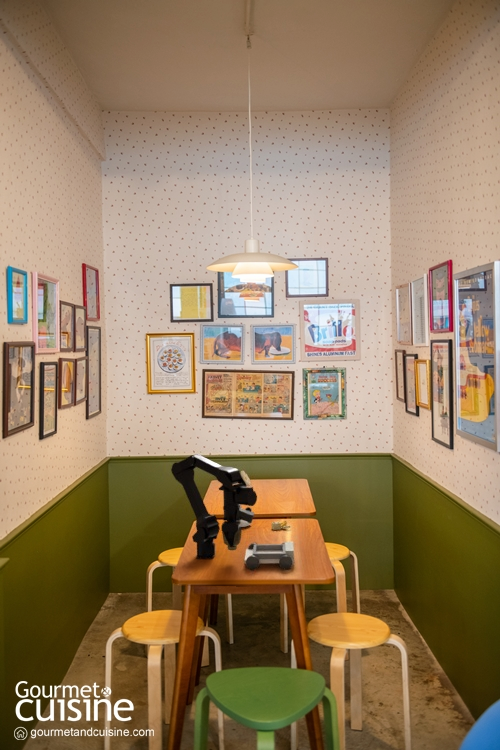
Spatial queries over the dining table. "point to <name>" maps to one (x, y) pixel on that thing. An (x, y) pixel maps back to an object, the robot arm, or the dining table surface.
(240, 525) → the flower in vase
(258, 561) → the car chassis
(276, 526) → the character toy
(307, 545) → the dining table surface
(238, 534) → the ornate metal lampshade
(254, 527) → the dining table surface
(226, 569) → the dining table surface
